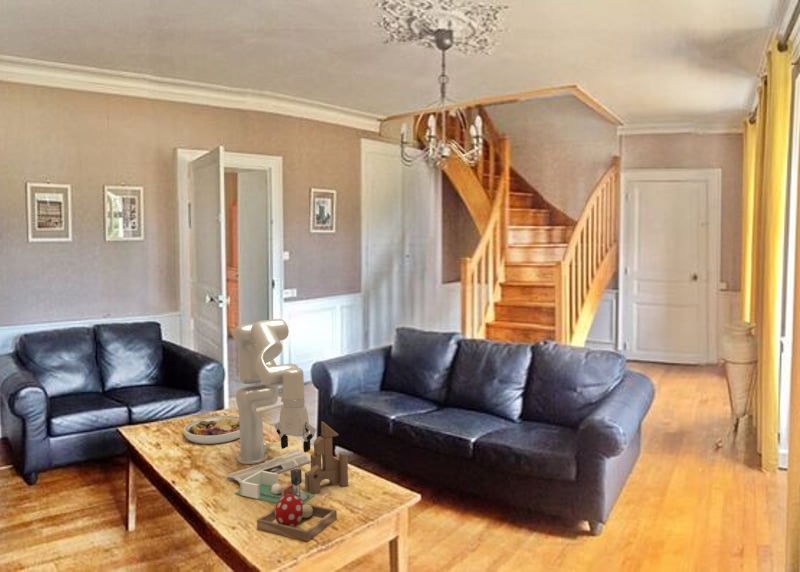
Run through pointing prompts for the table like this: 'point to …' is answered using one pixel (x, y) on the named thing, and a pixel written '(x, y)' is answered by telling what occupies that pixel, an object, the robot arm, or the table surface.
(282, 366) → the robot arm
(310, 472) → the wooden toy
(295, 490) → the knobbed pusher
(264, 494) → the rail
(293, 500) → the decorative mushroom
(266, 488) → the green railed board
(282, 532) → the display tray
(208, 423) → the bowl
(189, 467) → the table surface
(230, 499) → the table surface
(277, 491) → the ball
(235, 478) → the newspaper
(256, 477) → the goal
